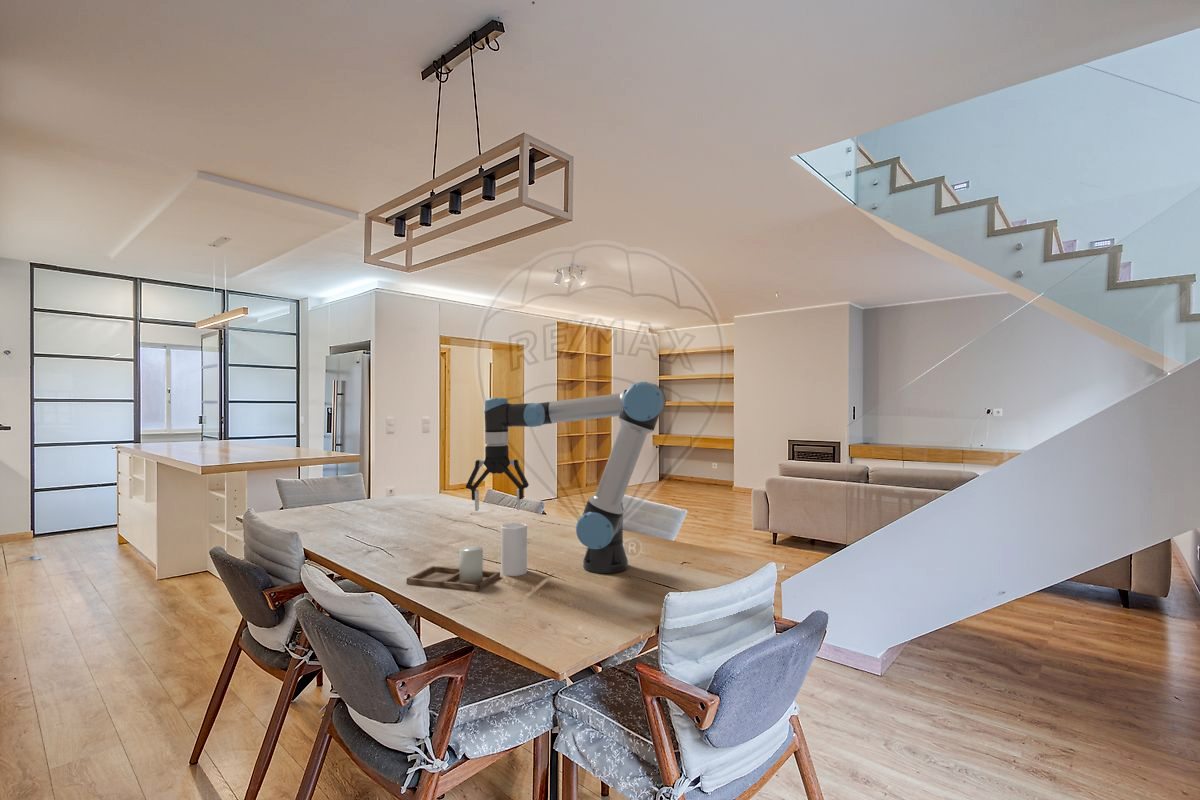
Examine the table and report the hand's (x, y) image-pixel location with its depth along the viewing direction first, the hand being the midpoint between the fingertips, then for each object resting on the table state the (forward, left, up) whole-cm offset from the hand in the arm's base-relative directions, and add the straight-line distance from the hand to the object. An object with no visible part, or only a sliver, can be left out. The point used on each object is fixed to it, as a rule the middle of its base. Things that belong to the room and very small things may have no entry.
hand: (497, 509), depth 185 cm
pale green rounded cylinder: (+2, +14, -20) cm, 24 cm away
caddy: (+8, +14, -21) cm, 26 cm away
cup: (-6, +1, -21) cm, 22 cm away
